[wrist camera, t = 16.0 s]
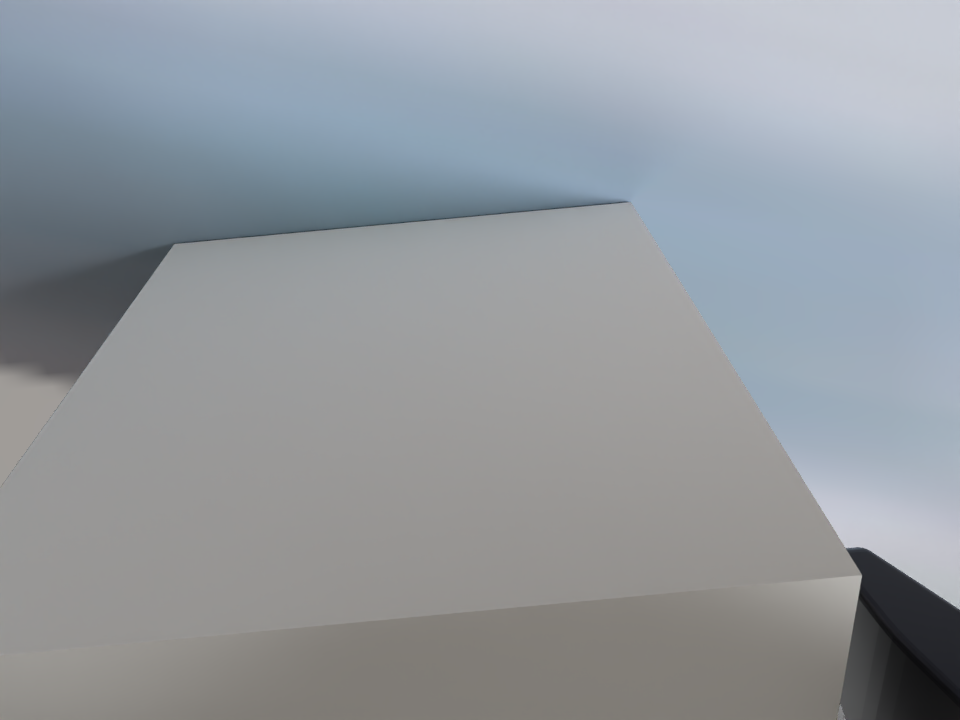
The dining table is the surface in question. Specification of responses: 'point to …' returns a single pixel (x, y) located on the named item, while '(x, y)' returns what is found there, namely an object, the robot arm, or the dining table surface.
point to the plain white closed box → (418, 495)
